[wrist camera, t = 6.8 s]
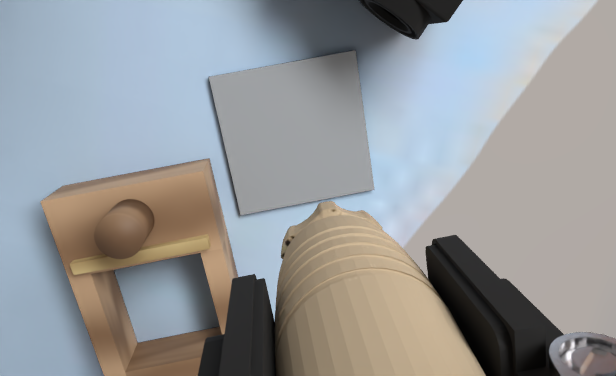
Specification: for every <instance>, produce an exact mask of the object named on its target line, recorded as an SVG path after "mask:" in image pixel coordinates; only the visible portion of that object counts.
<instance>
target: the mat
mask: <svg viewBox="0 0 616 376" xmlns="http://www.w3.org/2000/svg"><path fill="white" fill-rule="evenodd" d="M209 80H210V85H211V89H212V93H213V98H214V102H215V106H216V111H217V115H218V119H219V124H220V128H221V132H222V137H223V141H224V145H225V150H226V154H227V158H228V163H229V167H230V171H231V176H232V180H233V184H234V189H235V193H236V197H237V202H238V206H239V210H240V215H245V214H250V213H255V212H260V211H265V210H271V209H276V208H281V207H286V206H292V205H297V204H302V203H307V202H312V201H318V200H323V199H328V198H333V197H338V196H344V195H349V194H354V193H359V192H365V191H370V190H374V183H373V175H372V168H371V161H370V153H369V146H368V139H367V131H366V124H365V116H364V109H363V102H362V94H361V87H360V80H359V72H358V65H357V58H356V50H353V51H348V52H343V53H337V54H332V55H326V56H321V57H315V58H310V59H304V60H299V61H293V62H288V63H282V64H277V65H271V66H266V67H260V68H255V69H249V70H244V71H238V72H233V73H227V74H222V75H216V76H211V77H209Z"/></svg>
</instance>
